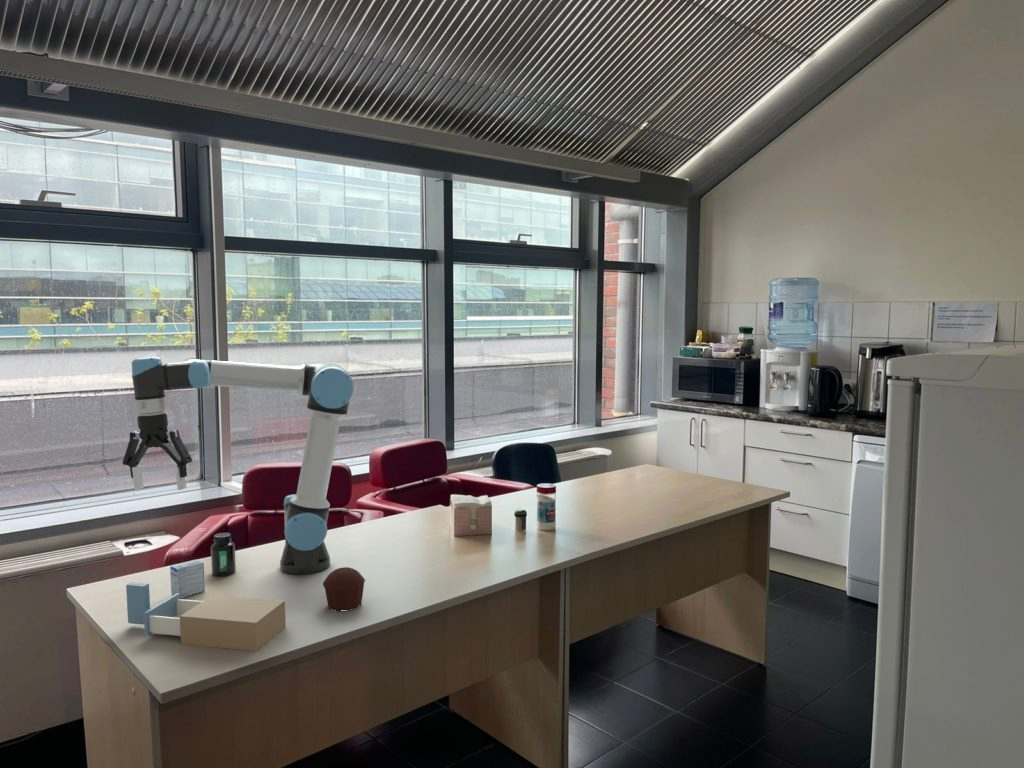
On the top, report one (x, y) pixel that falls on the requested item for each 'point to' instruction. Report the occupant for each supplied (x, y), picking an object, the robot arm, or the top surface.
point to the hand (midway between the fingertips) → (160, 489)
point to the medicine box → (187, 578)
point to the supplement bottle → (223, 555)
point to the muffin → (344, 589)
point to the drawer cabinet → (233, 622)
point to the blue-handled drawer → (156, 610)
